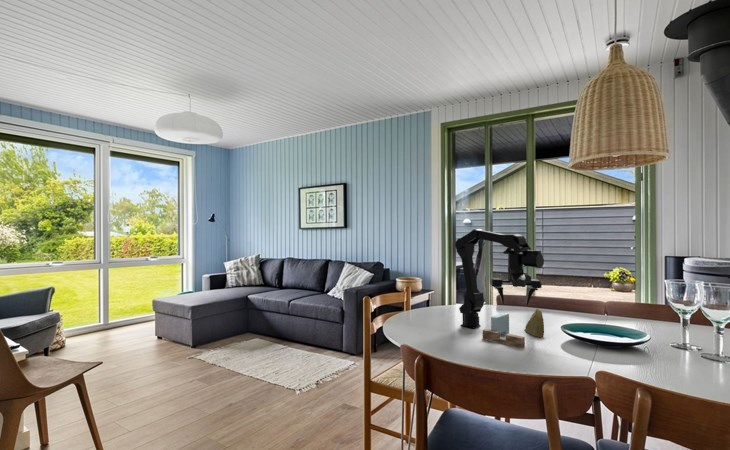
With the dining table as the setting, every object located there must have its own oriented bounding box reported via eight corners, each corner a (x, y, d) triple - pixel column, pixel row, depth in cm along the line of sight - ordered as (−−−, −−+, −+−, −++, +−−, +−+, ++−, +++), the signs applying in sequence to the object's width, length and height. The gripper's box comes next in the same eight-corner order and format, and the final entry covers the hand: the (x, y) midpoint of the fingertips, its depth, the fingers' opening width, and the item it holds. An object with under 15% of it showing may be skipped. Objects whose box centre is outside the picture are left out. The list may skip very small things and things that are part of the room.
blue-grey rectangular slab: (496, 337, 155) (496, 317, 155) (491, 336, 157) (490, 316, 157) (509, 333, 161) (509, 313, 161) (503, 331, 163) (503, 312, 163)
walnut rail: (482, 338, 154) (482, 329, 154) (485, 337, 155) (485, 328, 155) (521, 347, 142) (521, 338, 142) (524, 346, 143) (524, 337, 143)
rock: (551, 333, 152) (552, 324, 161) (536, 315, 154) (538, 307, 162) (527, 346, 157) (530, 336, 166) (513, 328, 159) (517, 320, 167)
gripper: (494, 267, 149) (494, 307, 149) (546, 268, 146) (545, 310, 147) (490, 264, 160) (489, 301, 160) (537, 265, 157) (537, 303, 158)
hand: (514, 304), depth 156 cm, fingers open, 9 cm apart
